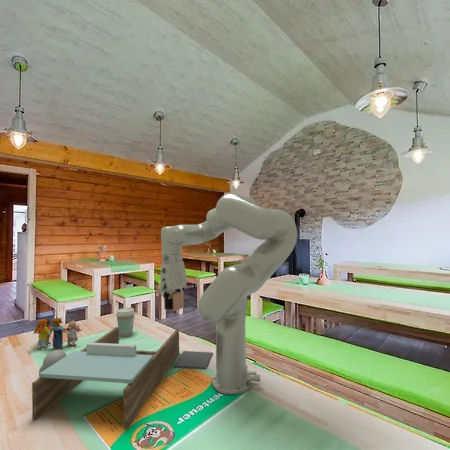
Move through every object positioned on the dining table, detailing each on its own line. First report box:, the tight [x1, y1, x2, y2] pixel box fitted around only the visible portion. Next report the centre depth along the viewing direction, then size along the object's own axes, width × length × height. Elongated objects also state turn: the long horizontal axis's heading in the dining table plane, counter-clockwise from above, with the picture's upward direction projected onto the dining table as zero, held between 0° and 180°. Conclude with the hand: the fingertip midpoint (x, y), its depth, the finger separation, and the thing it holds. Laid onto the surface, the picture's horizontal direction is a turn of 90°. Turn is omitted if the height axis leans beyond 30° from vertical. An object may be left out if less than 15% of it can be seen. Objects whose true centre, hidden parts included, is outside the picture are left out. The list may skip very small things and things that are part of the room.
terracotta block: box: [163, 290, 184, 312], centre depth 104 cm, size 5×5×6 cm
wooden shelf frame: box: [31, 326, 180, 429], centre depth 92 cm, size 27×42×10 cm, turn 172°
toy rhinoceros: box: [38, 349, 68, 374], centre depth 95 cm, size 7×12×8 cm, turn 73°
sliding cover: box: [38, 342, 153, 384], centre depth 81 cm, size 27×14×4 cm, turn 82°
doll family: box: [32, 317, 82, 350], centre depth 118 cm, size 21×10×13 cm, turn 80°
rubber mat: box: [173, 350, 213, 370], centre depth 105 cm, size 12×12×1 cm
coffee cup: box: [115, 307, 136, 338], centre depth 131 cm, size 8×9×12 cm
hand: (174, 306), depth 104 cm, fingers closed on terracotta block, 5 cm apart
